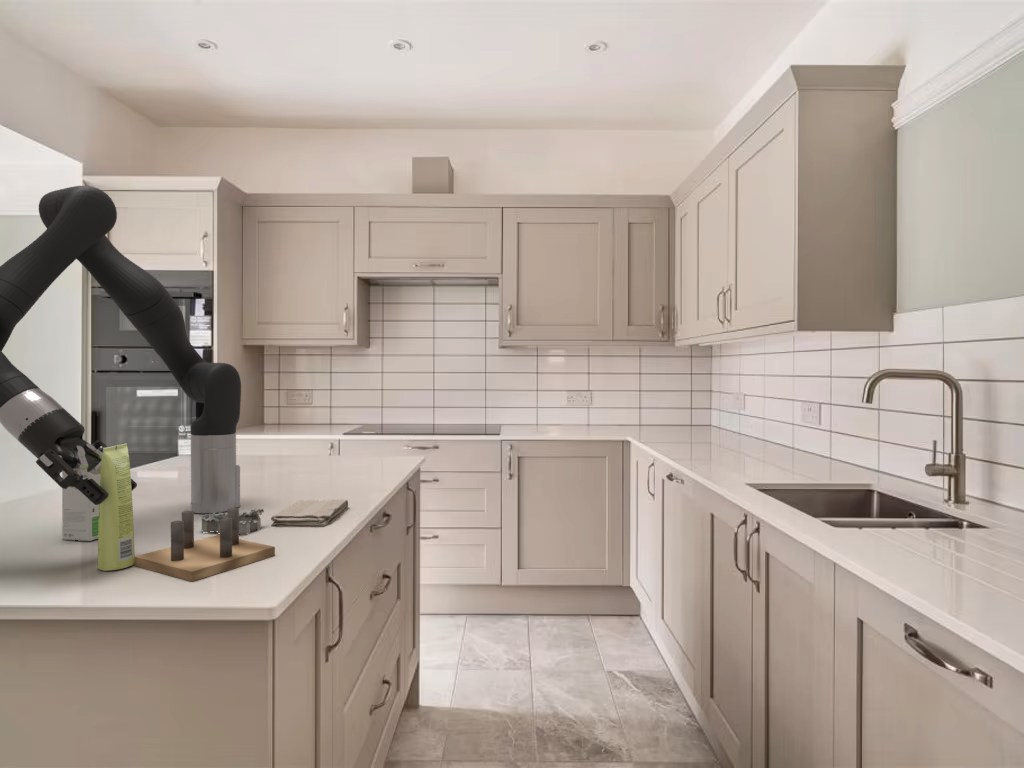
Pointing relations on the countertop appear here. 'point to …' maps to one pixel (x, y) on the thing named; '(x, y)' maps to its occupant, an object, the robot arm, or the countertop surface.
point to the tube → (116, 511)
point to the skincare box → (79, 514)
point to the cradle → (203, 550)
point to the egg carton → (245, 521)
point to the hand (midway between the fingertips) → (118, 495)
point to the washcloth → (310, 513)
